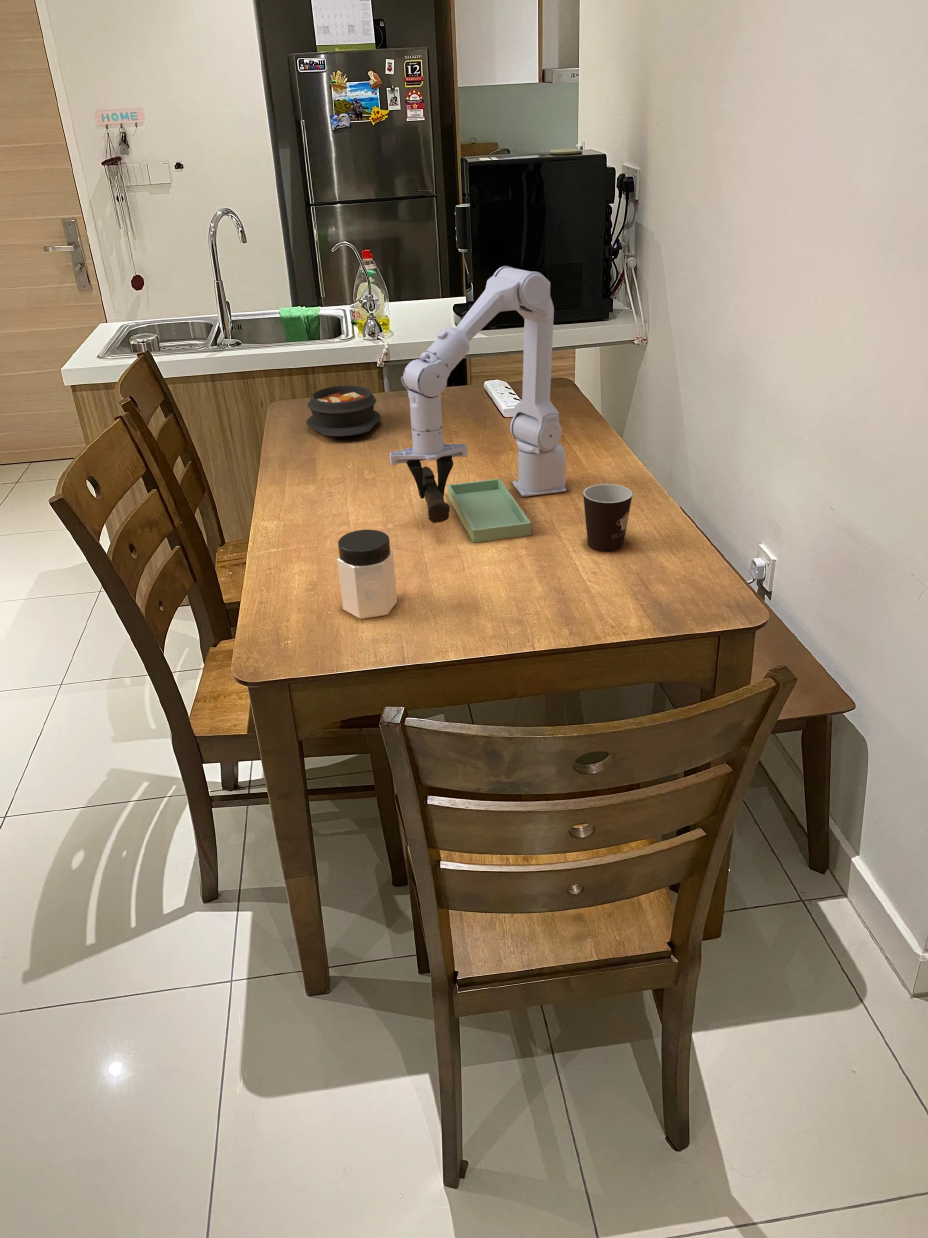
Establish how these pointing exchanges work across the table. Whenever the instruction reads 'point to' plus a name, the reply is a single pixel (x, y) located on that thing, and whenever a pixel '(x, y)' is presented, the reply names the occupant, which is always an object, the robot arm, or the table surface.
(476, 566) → the table surface
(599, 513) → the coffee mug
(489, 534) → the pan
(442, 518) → the hand tool
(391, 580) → the jar
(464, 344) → the robot arm
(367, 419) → the casserole
